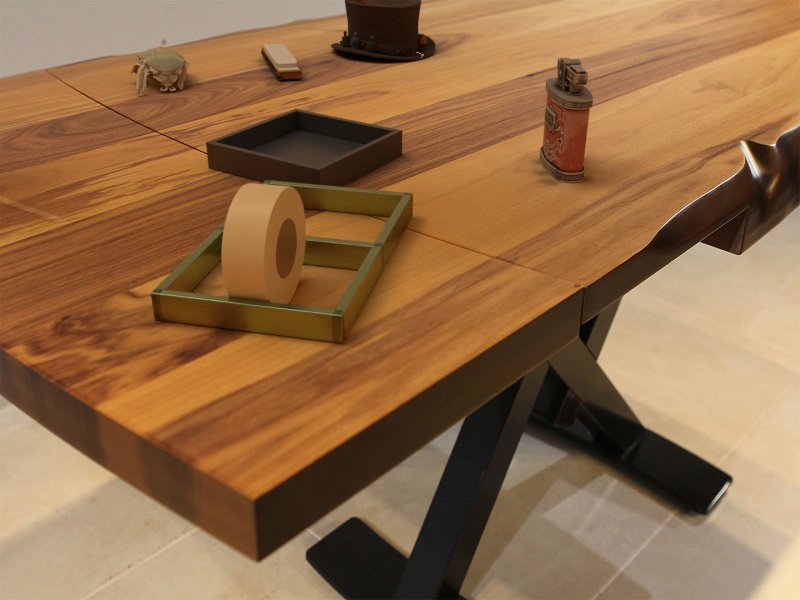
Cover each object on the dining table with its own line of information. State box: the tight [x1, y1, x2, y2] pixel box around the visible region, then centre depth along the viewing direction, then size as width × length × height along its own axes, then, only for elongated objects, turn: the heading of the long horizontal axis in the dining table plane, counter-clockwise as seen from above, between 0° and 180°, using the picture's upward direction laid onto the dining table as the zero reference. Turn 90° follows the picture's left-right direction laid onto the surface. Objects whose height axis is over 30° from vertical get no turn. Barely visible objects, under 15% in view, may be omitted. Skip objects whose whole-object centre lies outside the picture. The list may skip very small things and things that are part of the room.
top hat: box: [330, 0, 436, 61], centre depth 121 cm, size 15×15×10 cm
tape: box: [221, 182, 307, 304], centre depth 56 cm, size 3×8×8 cm, turn 167°
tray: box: [205, 108, 403, 187], centre depth 82 cm, size 13×13×2 cm
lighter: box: [539, 57, 594, 183], centre depth 79 cm, size 8×3×10 cm, turn 6°
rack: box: [150, 180, 414, 344], centre depth 63 cm, size 13×21×2 cm, turn 167°
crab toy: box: [130, 45, 191, 97], centre depth 106 cm, size 9×11×5 cm
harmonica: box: [260, 43, 302, 81], centre depth 114 cm, size 15×3×2 cm, turn 16°
